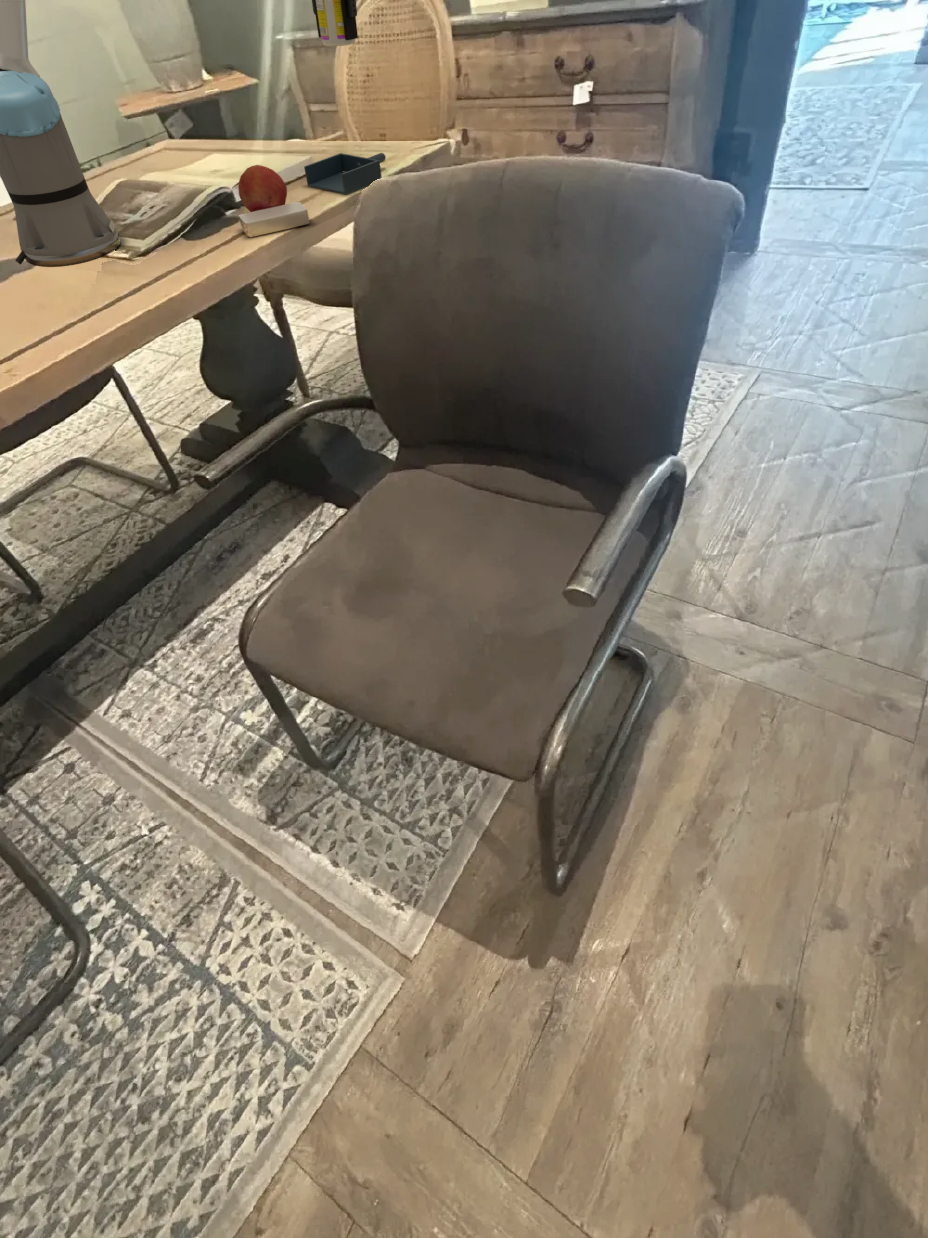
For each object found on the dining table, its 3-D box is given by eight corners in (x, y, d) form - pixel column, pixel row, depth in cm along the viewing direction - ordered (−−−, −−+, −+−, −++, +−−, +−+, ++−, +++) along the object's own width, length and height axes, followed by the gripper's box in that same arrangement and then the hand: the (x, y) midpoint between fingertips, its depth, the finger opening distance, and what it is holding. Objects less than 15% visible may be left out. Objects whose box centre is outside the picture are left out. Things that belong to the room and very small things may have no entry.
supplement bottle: (360, 41, 142) (350, -48, 133) (349, 47, 138) (338, -44, 128) (329, 41, 143) (317, -46, 134) (317, 47, 139) (303, -43, 129)
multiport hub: (299, 201, 124) (301, 215, 126) (237, 214, 121) (241, 229, 123) (307, 209, 122) (310, 223, 123) (245, 223, 119) (249, 238, 120)
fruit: (297, 182, 128) (292, 234, 127) (257, 187, 130) (251, 239, 129) (274, 148, 120) (268, 204, 119) (232, 154, 122) (226, 209, 121)
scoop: (346, 194, 134) (342, 174, 131) (307, 186, 139) (303, 166, 136) (404, 171, 143) (403, 151, 140) (366, 163, 147) (364, 144, 145)
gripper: (372, -137, 121) (388, 38, 137) (293, -132, 129) (317, 31, 146) (341, -135, 117) (361, 44, 133) (262, -131, 125) (289, 37, 142)
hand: (338, 37), depth 140 cm, fingers closed on supplement bottle, 7 cm apart
